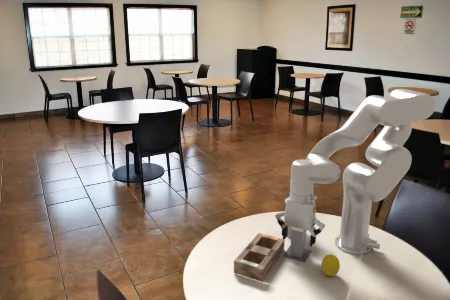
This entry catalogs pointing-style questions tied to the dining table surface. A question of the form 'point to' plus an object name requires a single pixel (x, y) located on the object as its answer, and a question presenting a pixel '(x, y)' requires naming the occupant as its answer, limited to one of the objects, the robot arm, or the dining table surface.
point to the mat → (303, 259)
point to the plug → (298, 242)
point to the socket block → (259, 257)
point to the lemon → (330, 265)
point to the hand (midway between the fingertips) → (298, 241)
